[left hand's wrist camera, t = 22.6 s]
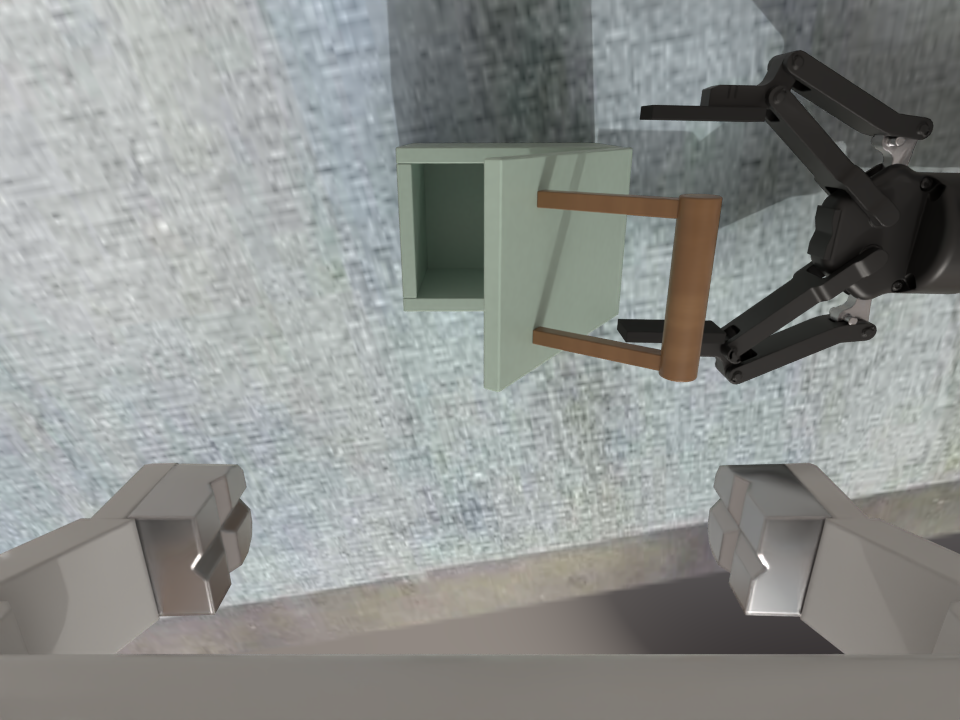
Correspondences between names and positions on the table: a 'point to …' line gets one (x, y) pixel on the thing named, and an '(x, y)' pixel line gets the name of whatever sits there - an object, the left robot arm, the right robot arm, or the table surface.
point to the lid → (583, 263)
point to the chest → (449, 219)
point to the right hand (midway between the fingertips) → (632, 228)
